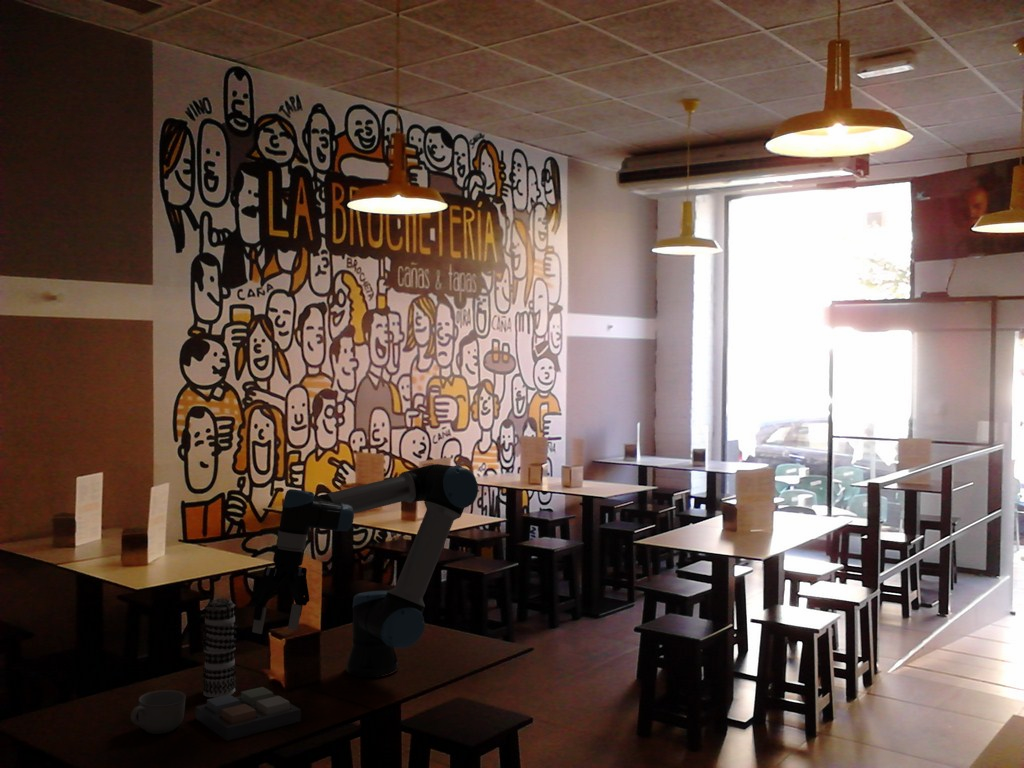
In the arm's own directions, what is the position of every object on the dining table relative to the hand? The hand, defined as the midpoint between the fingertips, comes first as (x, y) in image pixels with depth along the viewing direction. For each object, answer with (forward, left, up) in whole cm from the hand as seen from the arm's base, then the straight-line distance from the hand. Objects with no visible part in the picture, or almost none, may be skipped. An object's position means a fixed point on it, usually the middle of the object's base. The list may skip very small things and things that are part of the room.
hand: (275, 631), depth 229 cm
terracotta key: (+13, +7, -18) cm, 24 cm away
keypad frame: (+9, +3, -20) cm, 22 cm away
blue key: (+13, -2, -18) cm, 23 cm away
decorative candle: (+6, -22, -20) cm, 30 cm away
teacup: (+29, -5, -20) cm, 35 cm away
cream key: (+4, +7, -18) cm, 20 cm away
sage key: (+4, -2, -18) cm, 19 cm away
